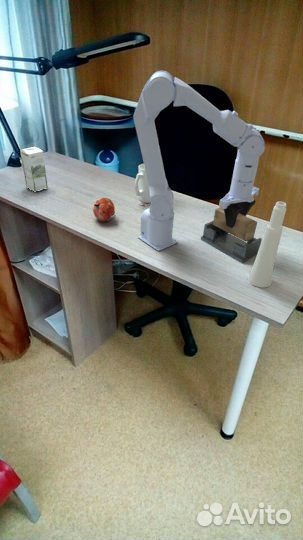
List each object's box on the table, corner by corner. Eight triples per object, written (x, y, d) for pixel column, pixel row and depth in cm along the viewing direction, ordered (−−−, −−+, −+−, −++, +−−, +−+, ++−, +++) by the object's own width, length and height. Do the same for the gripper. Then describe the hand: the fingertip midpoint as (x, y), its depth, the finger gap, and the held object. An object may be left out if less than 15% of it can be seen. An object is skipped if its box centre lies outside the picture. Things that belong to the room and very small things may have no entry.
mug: (146, 193, 132) (147, 161, 124) (160, 199, 128) (162, 166, 121) (127, 201, 125) (127, 169, 118) (142, 208, 122) (142, 174, 115)
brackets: (200, 239, 107) (202, 224, 104) (218, 230, 111) (221, 216, 108) (241, 263, 98) (245, 248, 95) (259, 253, 102) (263, 238, 99)
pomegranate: (105, 218, 120) (82, 207, 113) (117, 200, 118) (95, 188, 111) (114, 230, 115) (90, 219, 108) (127, 212, 113) (104, 200, 106)
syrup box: (40, 184, 135) (33, 145, 126) (48, 189, 131) (43, 150, 123) (26, 188, 131) (19, 149, 122) (35, 193, 128) (28, 153, 119)
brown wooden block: (212, 224, 104) (215, 209, 101) (220, 220, 106) (223, 205, 103) (245, 241, 97) (249, 225, 94) (253, 237, 99) (257, 221, 96)
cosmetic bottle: (275, 279, 92) (299, 202, 79) (265, 291, 88) (289, 212, 75) (253, 270, 95) (273, 195, 82) (243, 281, 91) (263, 203, 78)
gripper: (238, 190, 86) (228, 238, 94) (272, 177, 93) (261, 222, 102) (216, 181, 90) (209, 227, 98) (250, 169, 98) (241, 212, 106)
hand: (234, 224), depth 100 cm, fingers closed on brown wooden block, 4 cm apart
